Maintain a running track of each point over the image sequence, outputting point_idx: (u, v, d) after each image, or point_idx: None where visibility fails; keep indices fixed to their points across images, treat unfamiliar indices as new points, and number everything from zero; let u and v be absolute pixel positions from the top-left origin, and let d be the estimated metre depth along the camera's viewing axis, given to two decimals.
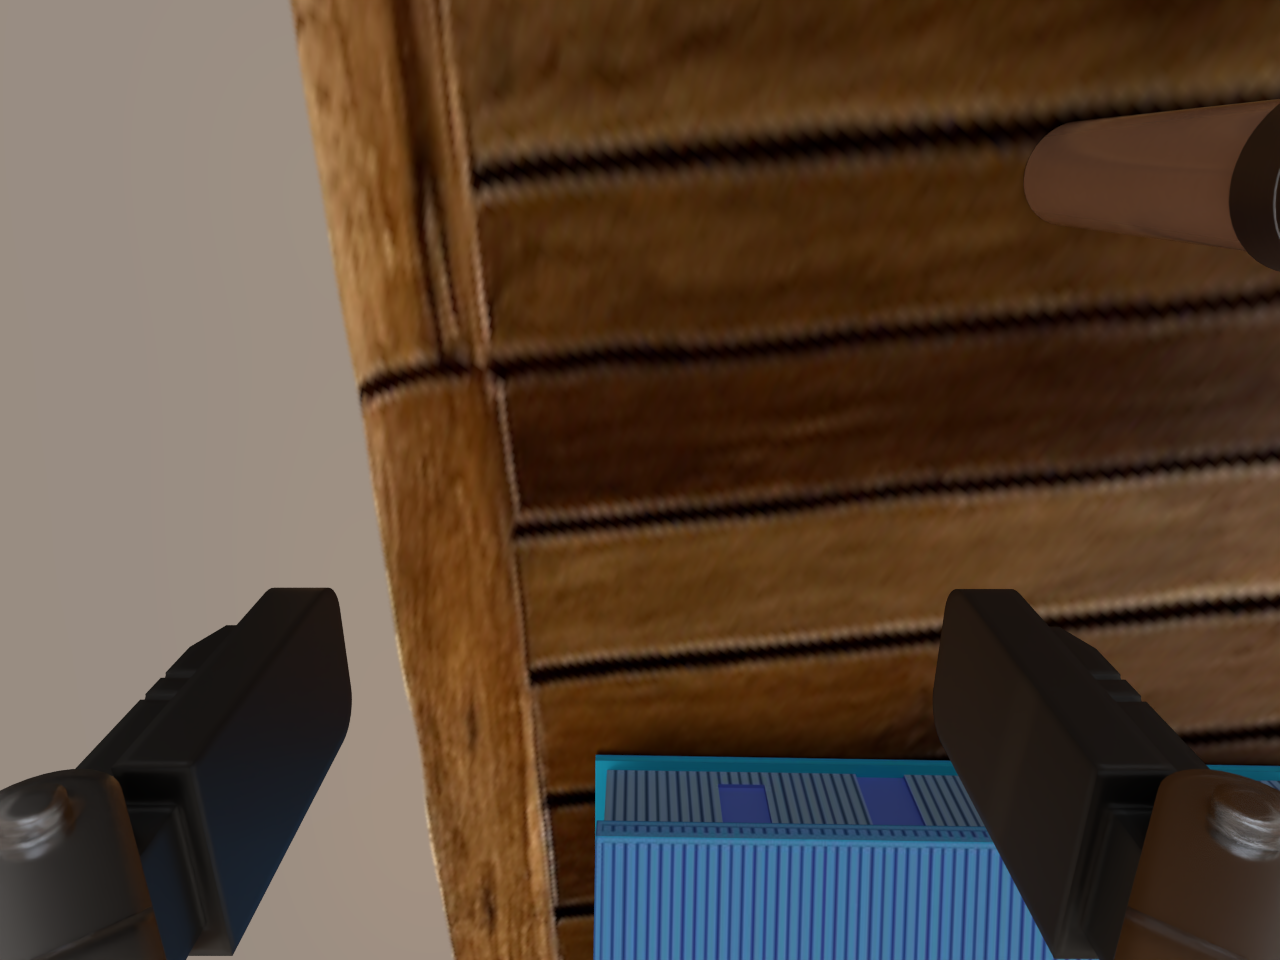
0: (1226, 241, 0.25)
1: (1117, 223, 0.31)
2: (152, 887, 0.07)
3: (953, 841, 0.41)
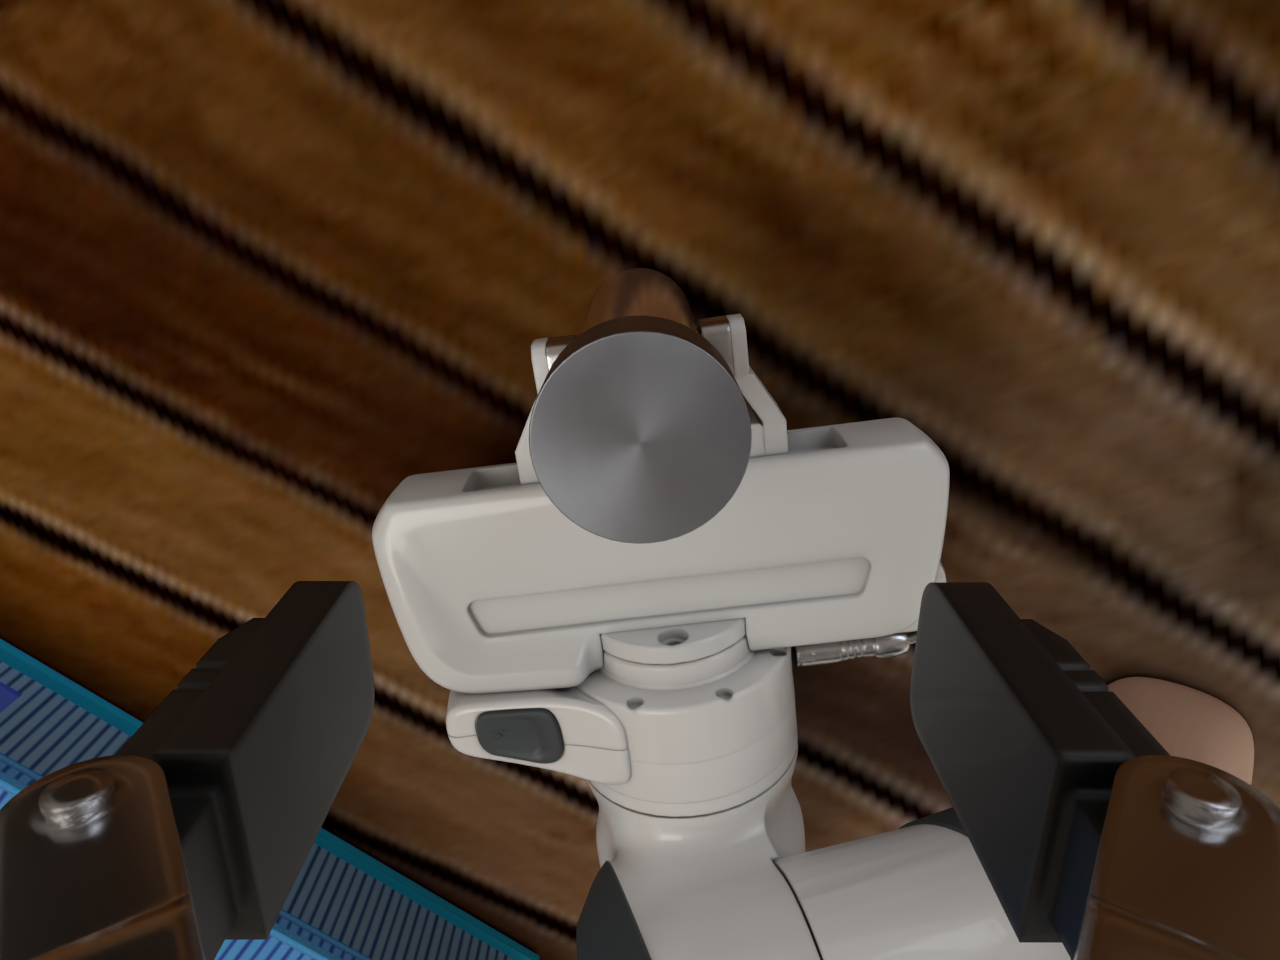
0: None
1: None
2: (194, 870, 0.07)
3: None
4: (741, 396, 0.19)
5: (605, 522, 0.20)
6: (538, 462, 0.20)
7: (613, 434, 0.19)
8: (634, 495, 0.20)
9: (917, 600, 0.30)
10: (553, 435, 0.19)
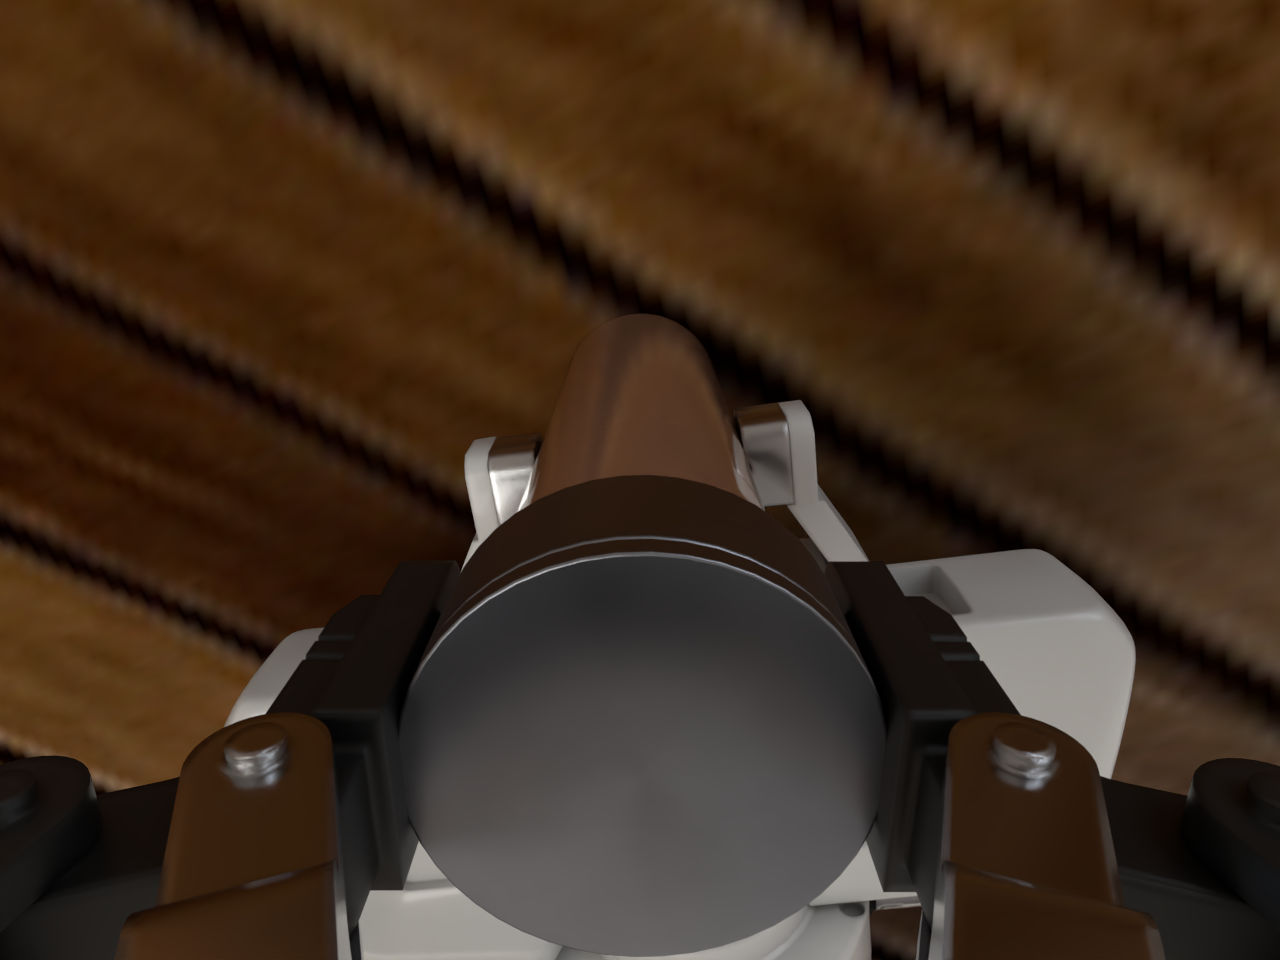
0: None
1: None
2: (353, 820, 0.08)
3: None
4: (871, 685, 0.08)
5: (568, 921, 0.09)
6: (419, 813, 0.09)
7: (582, 760, 0.09)
8: (629, 873, 0.09)
9: None
10: (449, 762, 0.09)
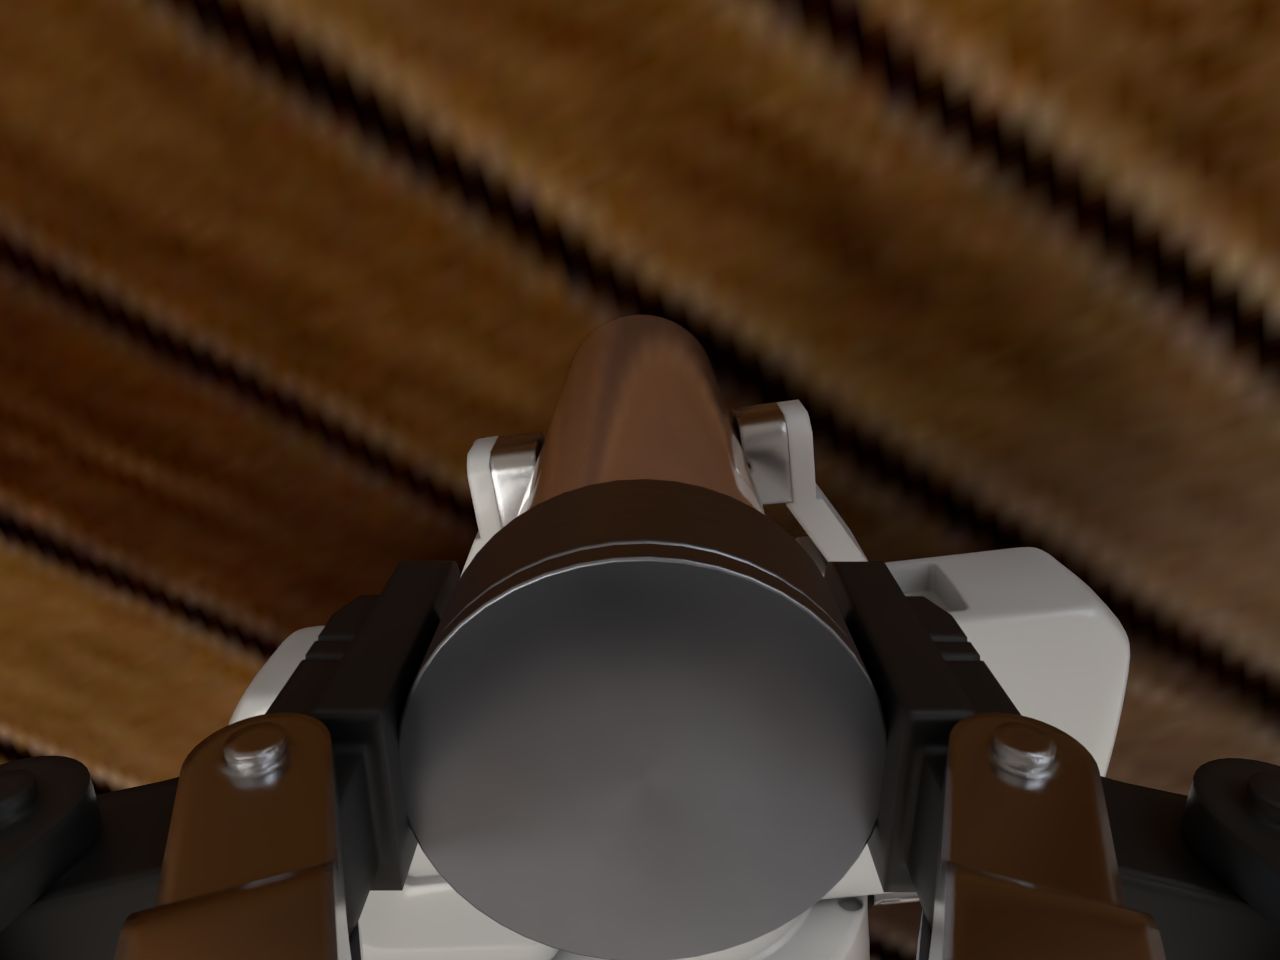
0: None
1: None
2: (352, 819, 0.08)
3: None
4: (626, 559, 0.08)
5: (782, 893, 0.09)
6: (604, 951, 0.10)
7: (604, 818, 0.09)
8: (751, 827, 0.09)
9: None
10: (561, 911, 0.09)
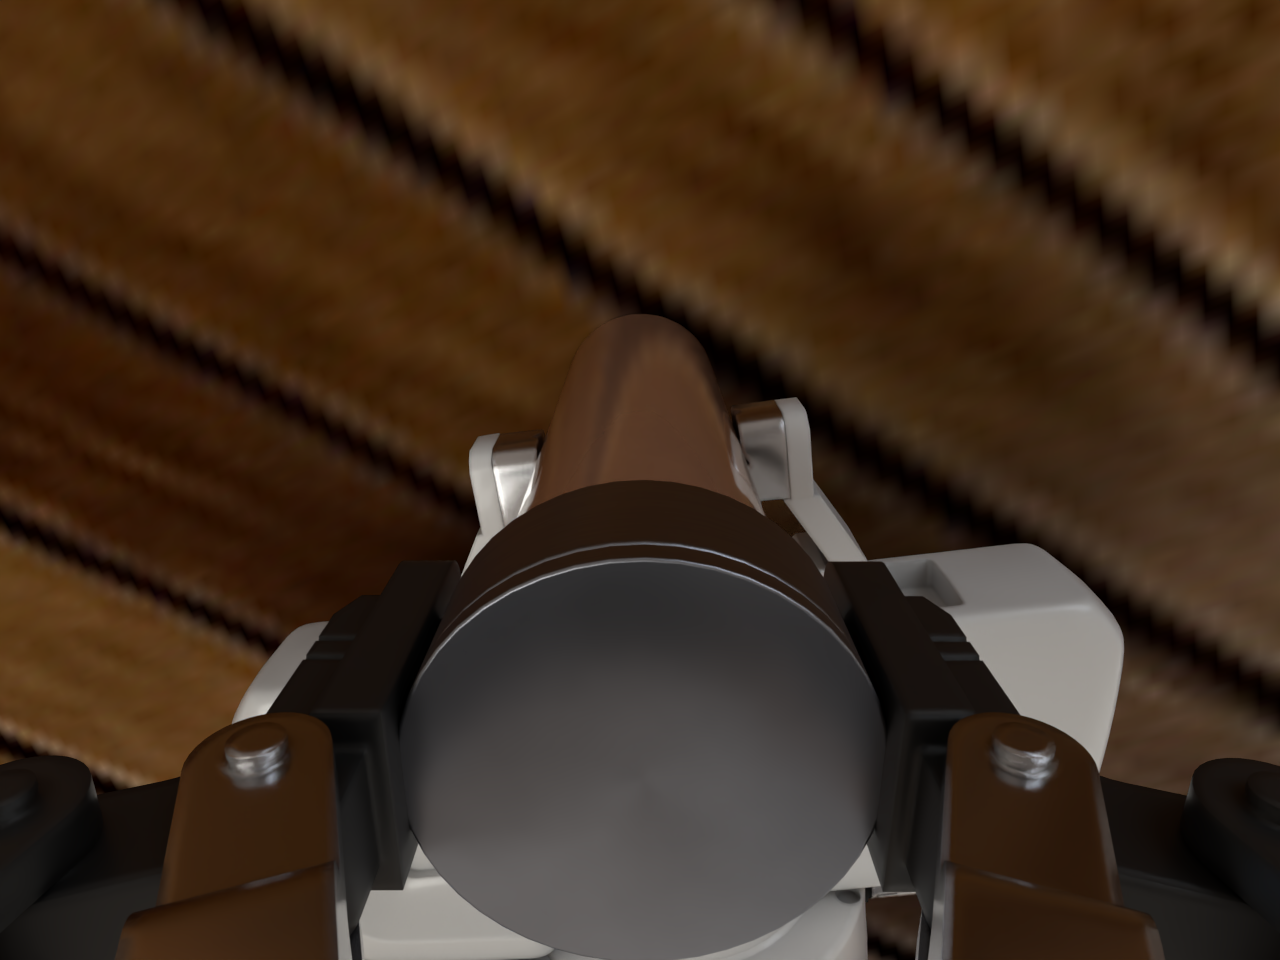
0: None
1: None
2: (353, 819, 0.08)
3: None
4: (405, 715, 0.09)
5: (839, 711, 0.08)
6: (829, 877, 0.09)
7: (671, 824, 0.09)
8: (742, 713, 0.09)
9: None
10: (762, 892, 0.09)
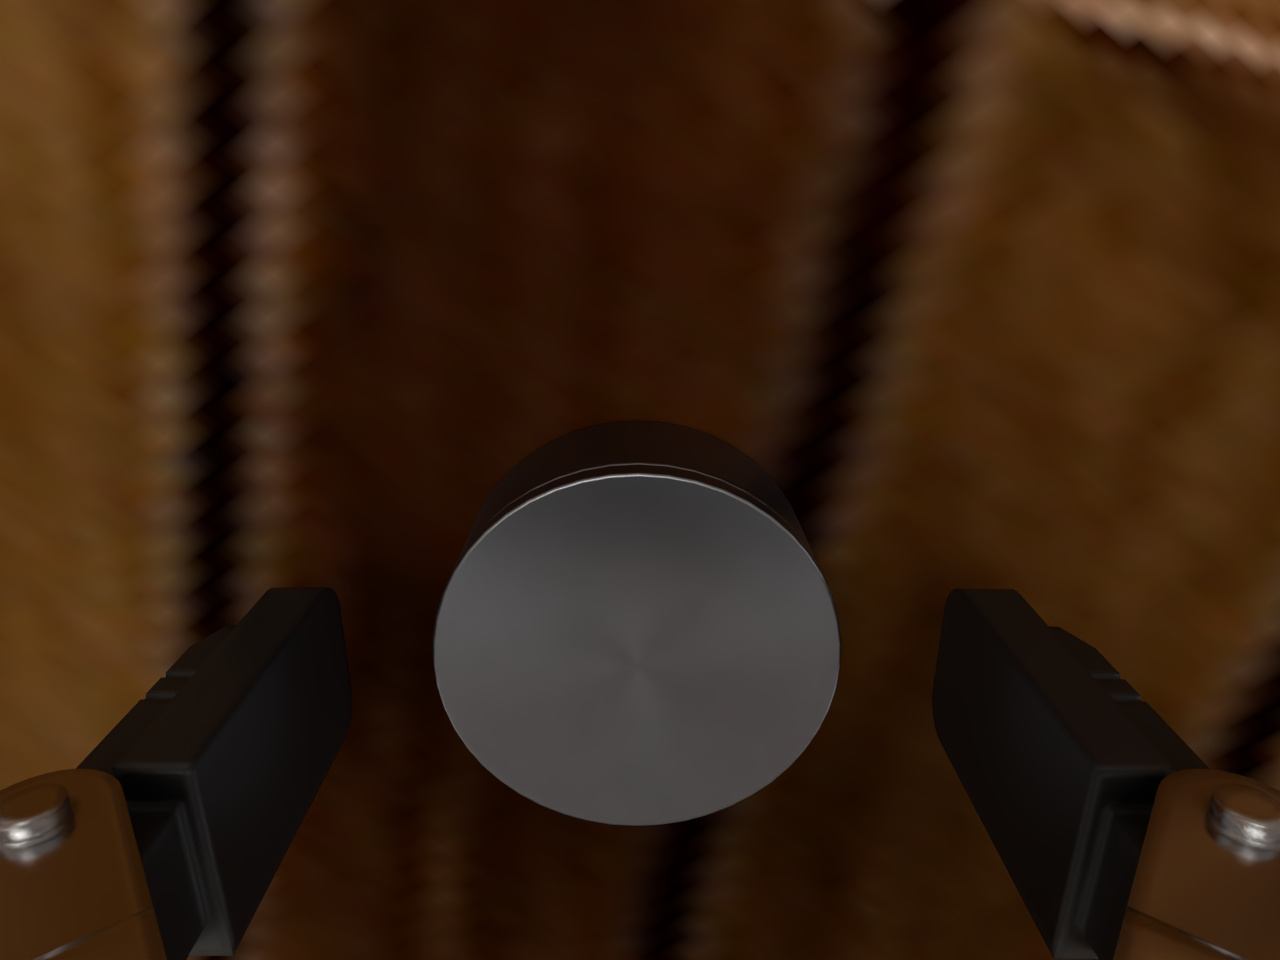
0: None
1: None
2: (152, 887, 0.07)
3: None
4: (440, 608, 0.10)
5: (799, 604, 0.10)
6: (792, 749, 0.11)
7: (661, 703, 0.11)
8: (718, 605, 0.10)
9: None
10: (737, 763, 0.11)
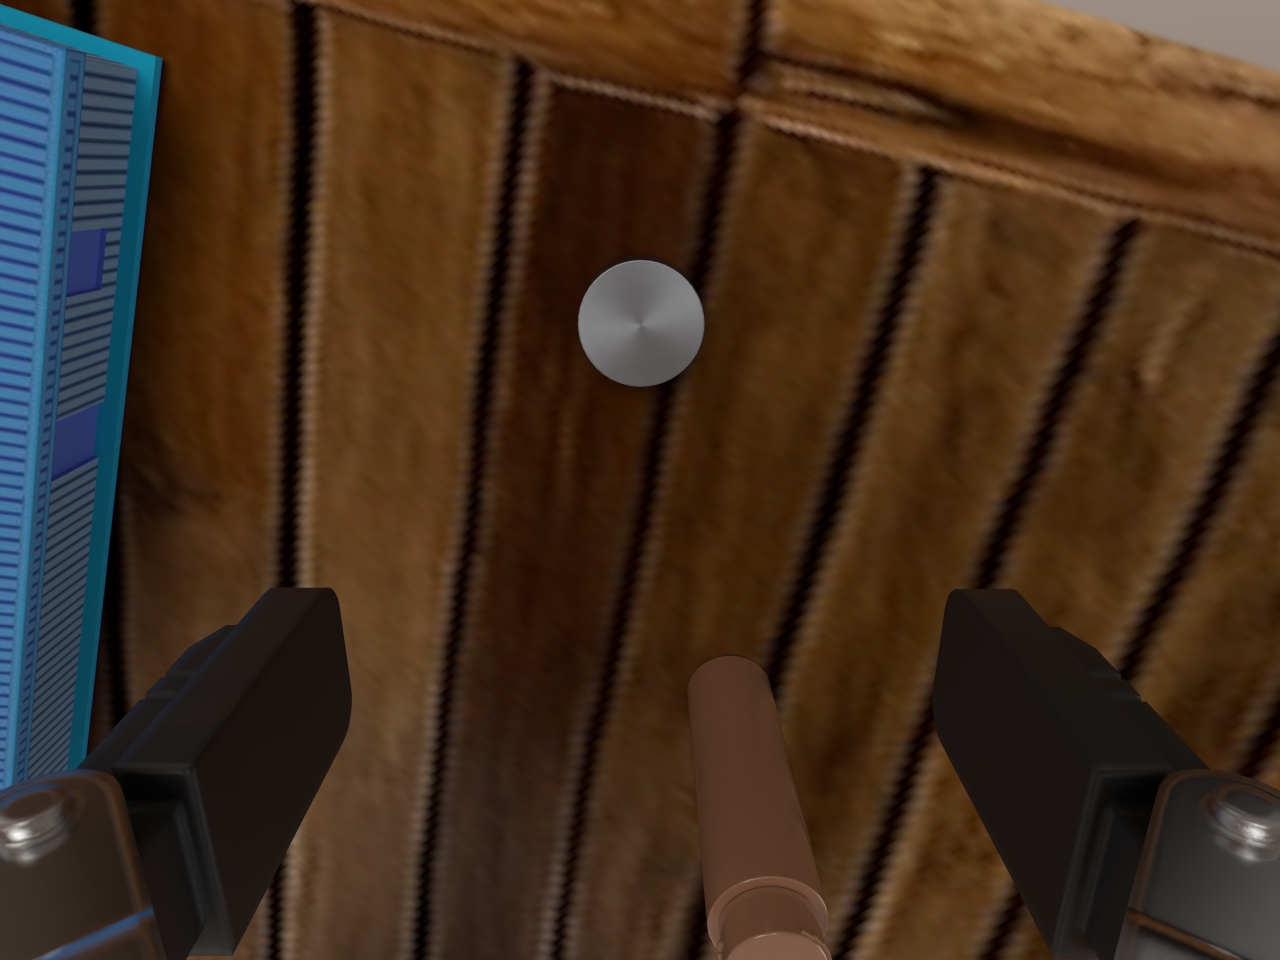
0: (725, 856, 0.31)
1: (717, 749, 0.36)
2: (152, 887, 0.07)
3: (30, 527, 0.32)
4: (581, 305, 0.34)
5: (690, 303, 0.34)
6: (690, 356, 0.35)
7: (648, 338, 0.34)
8: (665, 303, 0.34)
9: None
10: (673, 361, 0.35)
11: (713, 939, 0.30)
